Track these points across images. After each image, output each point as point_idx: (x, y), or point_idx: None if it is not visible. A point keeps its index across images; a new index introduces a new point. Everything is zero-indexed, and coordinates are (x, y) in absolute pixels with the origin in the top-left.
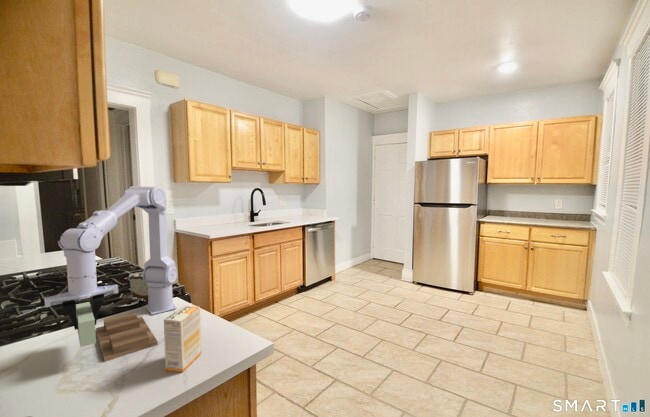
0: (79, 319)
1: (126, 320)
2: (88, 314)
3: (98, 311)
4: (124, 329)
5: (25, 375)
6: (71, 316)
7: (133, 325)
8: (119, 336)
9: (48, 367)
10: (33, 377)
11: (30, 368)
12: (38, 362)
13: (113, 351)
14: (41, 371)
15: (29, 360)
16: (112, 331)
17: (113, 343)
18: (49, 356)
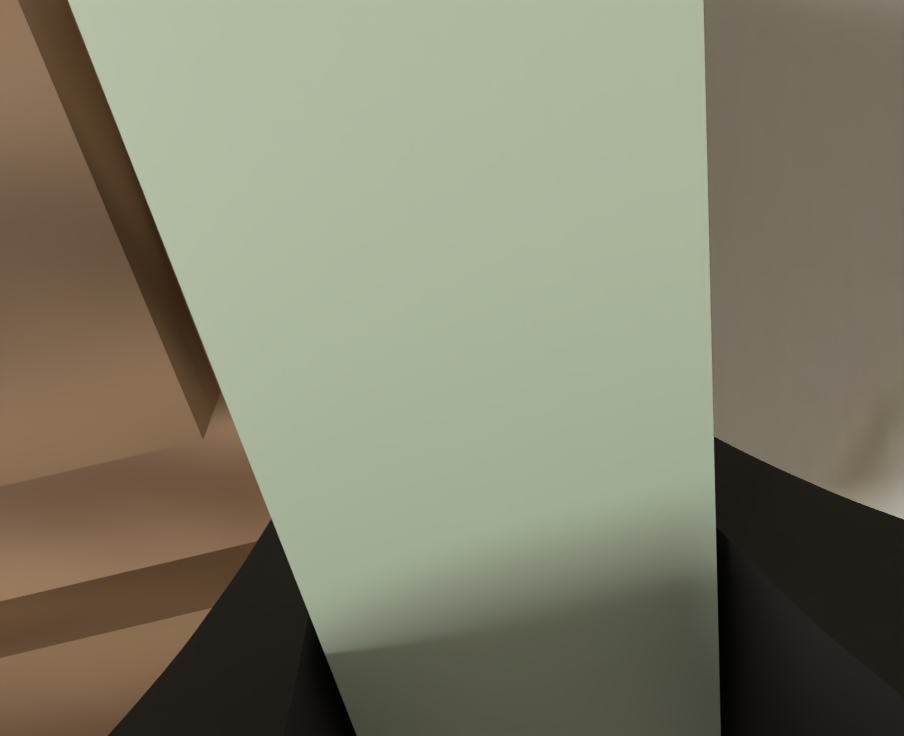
0: (664, 166)
1: (98, 731)
2: (412, 519)
3: (167, 674)
4: (106, 592)
5: (899, 112)
6: (873, 527)
7: (3, 630)
8: (43, 347)
9: (732, 175)
10: (846, 21)
11: (859, 238)
12: (803, 324)
13: (57, 20)
14: (785, 119)
15: (859, 395)
16: (222, 575)
17: (61, 147)
18: (728, 397)
